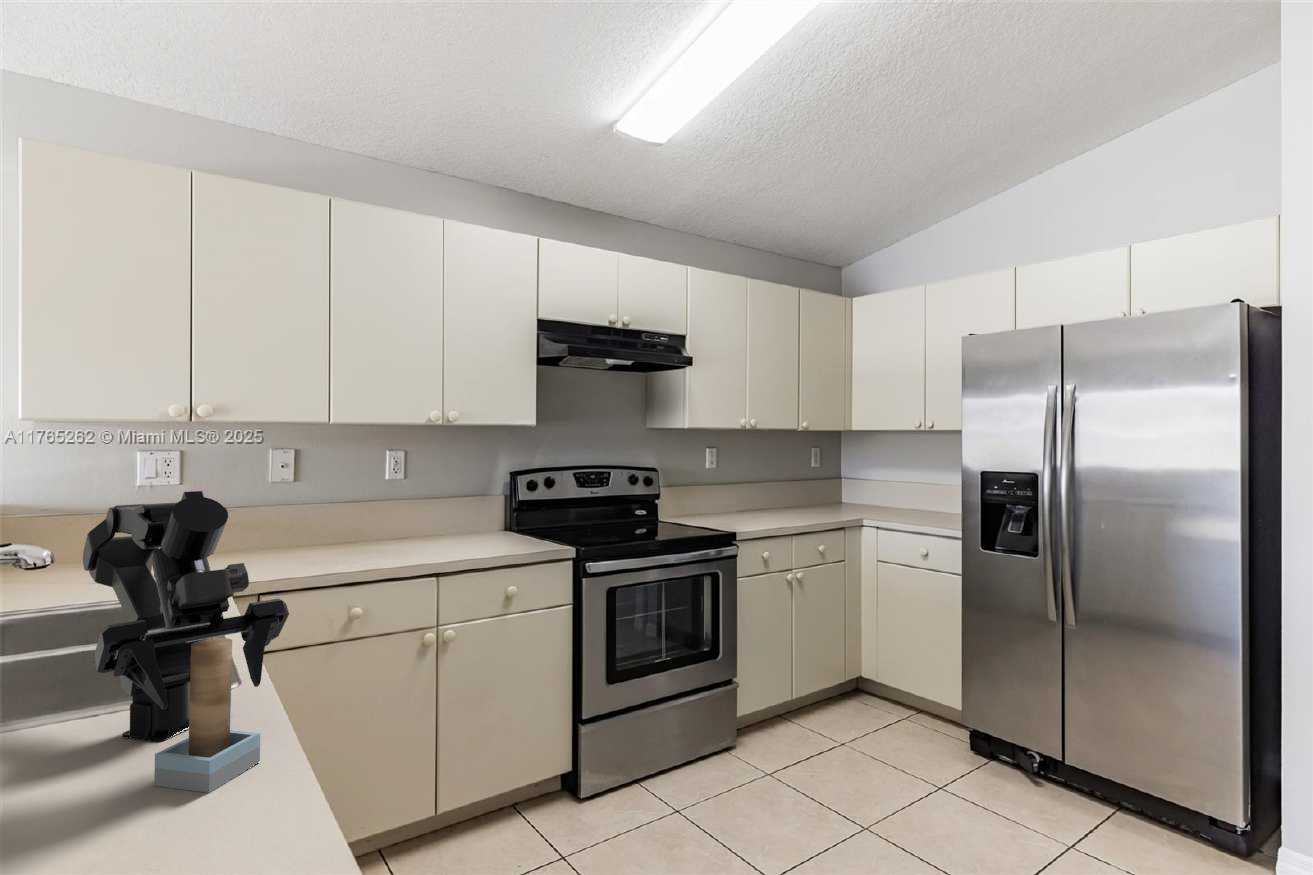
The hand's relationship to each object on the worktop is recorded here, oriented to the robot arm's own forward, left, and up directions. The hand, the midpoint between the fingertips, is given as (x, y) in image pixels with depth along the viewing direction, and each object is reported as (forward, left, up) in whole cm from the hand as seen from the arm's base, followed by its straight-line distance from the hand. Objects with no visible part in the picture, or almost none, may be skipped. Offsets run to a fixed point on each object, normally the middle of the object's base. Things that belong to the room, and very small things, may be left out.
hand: (213, 695), depth 79 cm
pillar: (-1, -1, -7) cm, 7 cm away
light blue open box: (-1, -1, -9) cm, 9 cm away
